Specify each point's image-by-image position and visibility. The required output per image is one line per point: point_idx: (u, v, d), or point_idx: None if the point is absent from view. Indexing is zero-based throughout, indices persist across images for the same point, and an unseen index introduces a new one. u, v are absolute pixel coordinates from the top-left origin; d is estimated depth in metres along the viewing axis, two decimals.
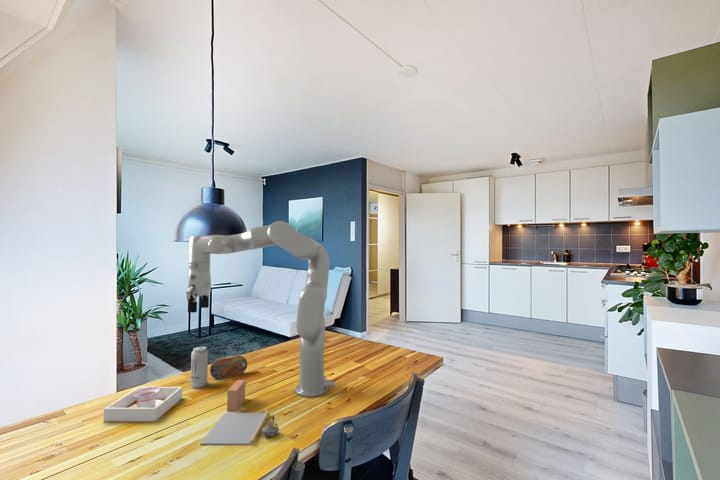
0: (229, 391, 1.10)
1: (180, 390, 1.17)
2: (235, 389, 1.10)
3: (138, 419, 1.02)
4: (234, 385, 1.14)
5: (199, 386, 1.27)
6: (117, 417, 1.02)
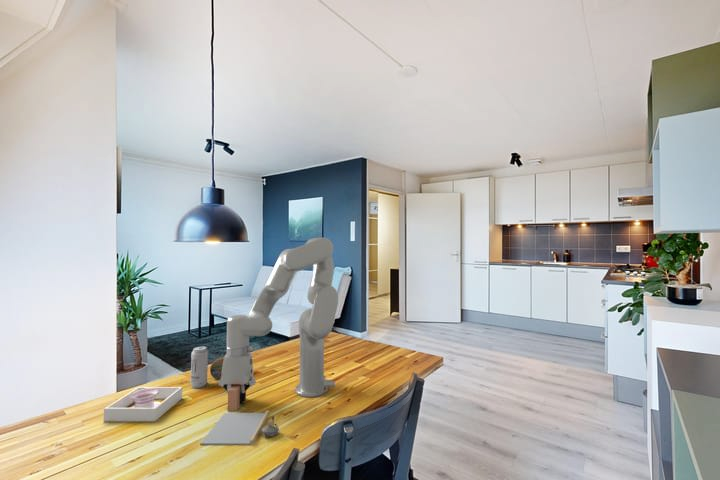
0: (229, 391, 1.10)
1: (180, 390, 1.17)
2: (235, 389, 1.10)
3: (138, 419, 1.02)
4: (234, 384, 1.14)
5: (199, 386, 1.27)
6: (117, 417, 1.02)
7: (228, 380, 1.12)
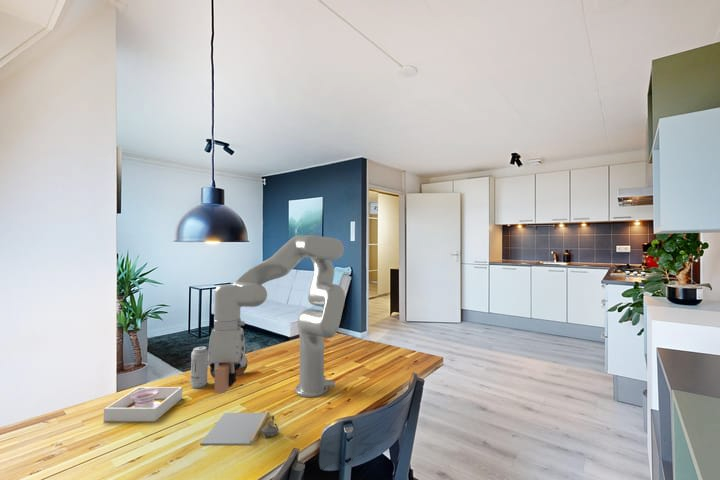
0: (217, 369, 0.95)
1: (180, 390, 1.17)
2: (224, 367, 0.96)
3: (138, 419, 1.02)
4: (223, 364, 0.99)
5: (199, 386, 1.27)
6: (117, 417, 1.02)
7: (216, 358, 0.97)
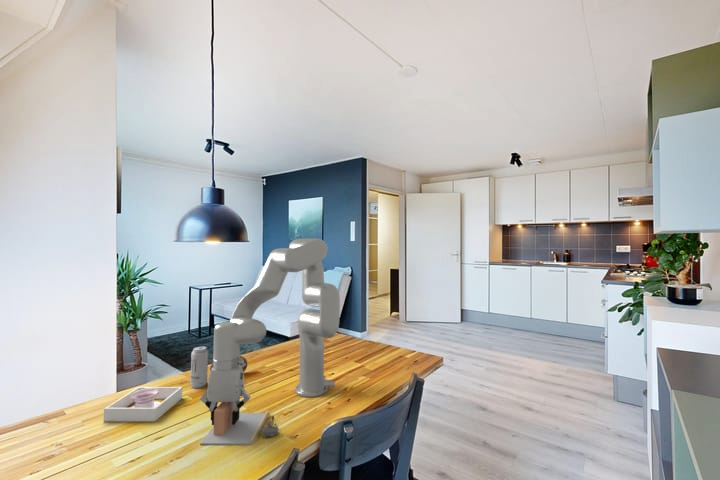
0: (216, 411, 0.95)
1: (180, 390, 1.17)
2: (223, 409, 0.95)
3: (138, 419, 1.02)
4: (222, 404, 0.99)
5: (199, 386, 1.27)
6: (117, 417, 1.02)
7: (215, 397, 0.97)
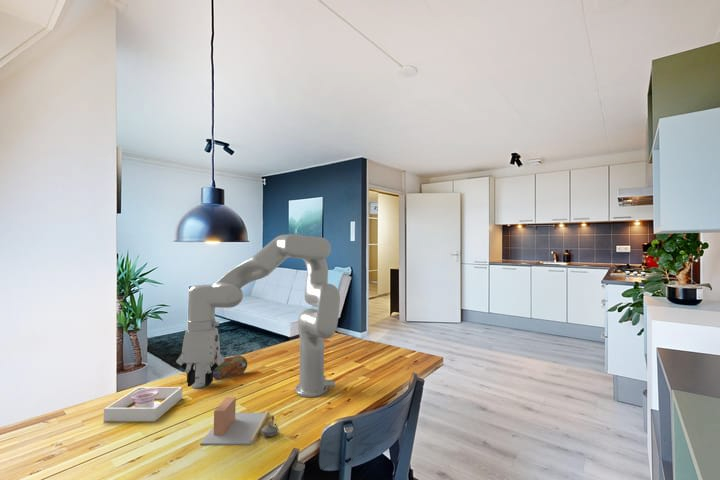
0: (216, 411, 0.95)
1: (180, 390, 1.17)
2: (223, 409, 0.95)
3: (138, 419, 1.02)
4: (222, 404, 0.99)
5: (199, 386, 1.27)
6: (117, 417, 1.02)
7: (189, 358, 0.97)
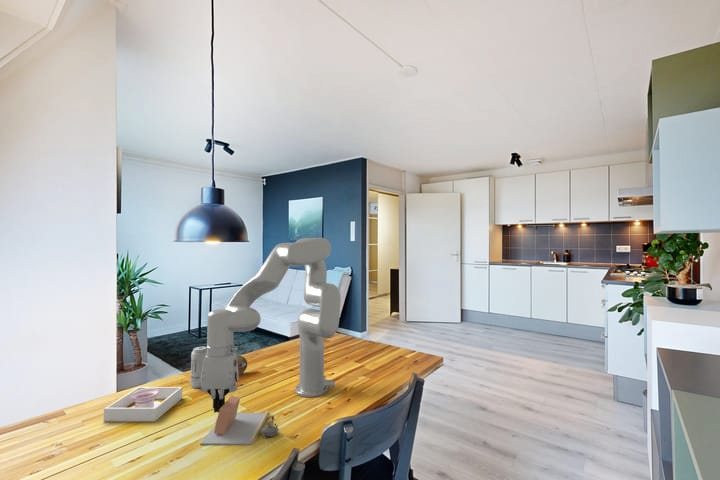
0: (221, 410, 0.95)
1: (180, 390, 1.17)
2: (228, 409, 0.96)
3: (138, 419, 1.02)
4: (227, 403, 0.99)
5: (199, 386, 1.27)
6: (117, 417, 1.02)
7: (208, 384, 0.97)
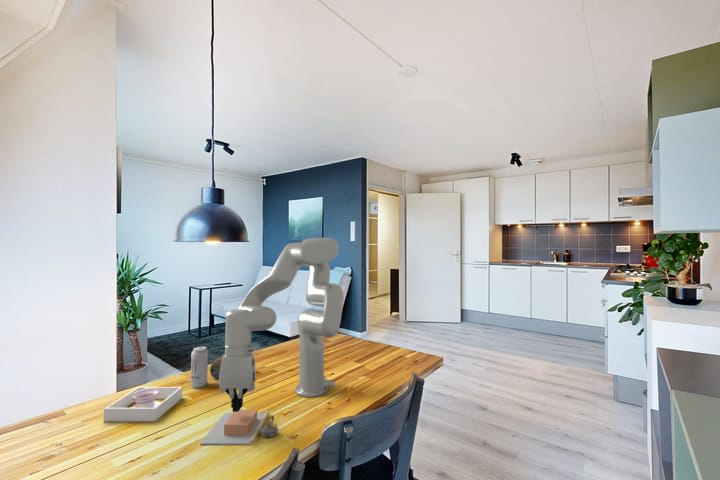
0: (246, 426, 0.95)
1: (180, 390, 1.17)
2: (248, 431, 0.95)
3: (138, 419, 1.02)
4: (252, 419, 0.99)
5: (199, 386, 1.27)
6: (117, 417, 1.02)
7: (227, 384, 0.97)
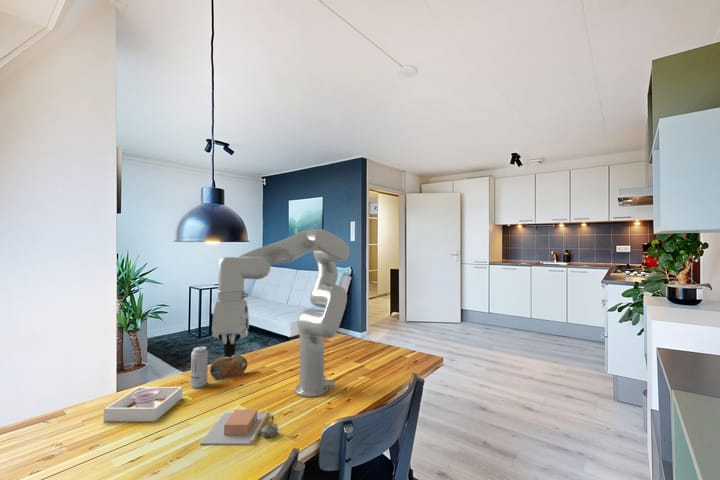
0: (246, 426, 0.95)
1: (180, 390, 1.17)
2: (248, 431, 0.95)
3: (138, 419, 1.02)
4: (252, 419, 0.99)
5: (199, 386, 1.27)
6: (117, 417, 1.02)
7: (220, 329, 0.98)
